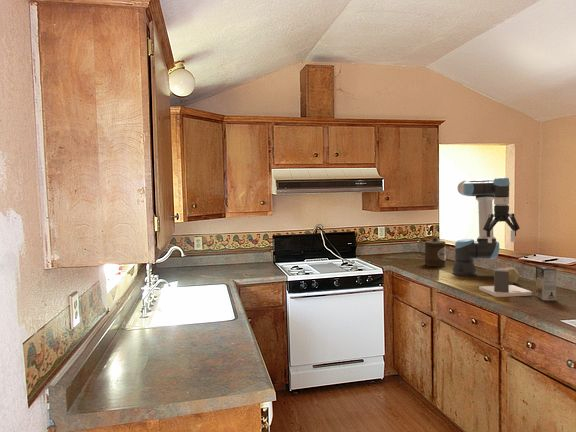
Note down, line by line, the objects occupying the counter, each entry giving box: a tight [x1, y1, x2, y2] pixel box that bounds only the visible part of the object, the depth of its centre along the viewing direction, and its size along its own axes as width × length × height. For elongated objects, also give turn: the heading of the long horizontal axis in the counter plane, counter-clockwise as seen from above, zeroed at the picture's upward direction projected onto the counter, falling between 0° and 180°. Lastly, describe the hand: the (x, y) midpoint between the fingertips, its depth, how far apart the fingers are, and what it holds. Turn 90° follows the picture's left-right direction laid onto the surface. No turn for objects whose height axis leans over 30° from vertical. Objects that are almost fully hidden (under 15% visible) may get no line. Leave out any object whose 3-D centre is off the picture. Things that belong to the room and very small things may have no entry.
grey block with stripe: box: [493, 268, 510, 293], centre depth 215 cm, size 7×7×12 cm
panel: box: [478, 284, 533, 298], centre depth 219 cm, size 16×20×7 cm
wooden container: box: [424, 236, 446, 268], centre depth 304 cm, size 15×15×22 cm
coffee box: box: [535, 265, 557, 301], centre depth 206 cm, size 9×6×16 cm
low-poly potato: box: [504, 266, 520, 285], centre depth 240 cm, size 15×11×12 cm
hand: (501, 242), depth 226 cm, fingers open, 13 cm apart
